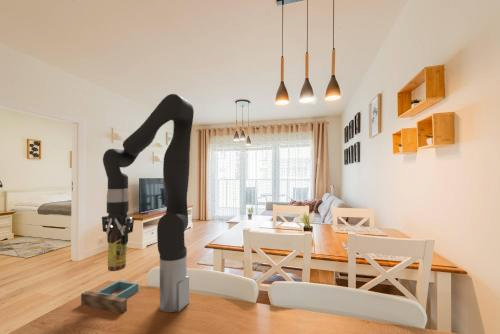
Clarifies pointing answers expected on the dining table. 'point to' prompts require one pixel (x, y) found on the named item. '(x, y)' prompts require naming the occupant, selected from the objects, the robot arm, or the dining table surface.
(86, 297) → the walnut rail
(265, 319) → the dining table surface
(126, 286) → the square collar
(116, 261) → the sauce bottle
